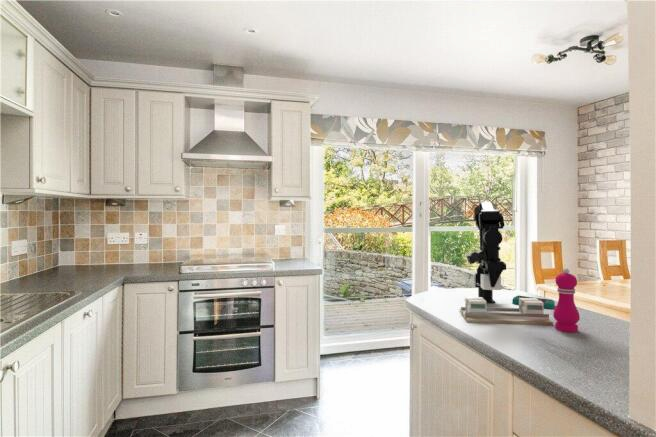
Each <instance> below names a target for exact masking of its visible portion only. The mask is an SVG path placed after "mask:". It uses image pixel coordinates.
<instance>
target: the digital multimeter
mask: <svg viewBox="0 0 656 437" xmlns="http://www.w3.org/2000/svg"><path fill="white" fill-rule="evenodd" d="M519 298H534V296H533V297H531V296H524V295H516V296H514V297H512V300H511V301H512V304H514V305H519ZM536 298H537V299H538V300H540V301H542V302H543V303H544V309H548V308H549V309H550V310H551V308H552V309H555V307H556V305H555V303H556V302H555V300H554V299H549V298H538V297H536Z"/></svg>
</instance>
